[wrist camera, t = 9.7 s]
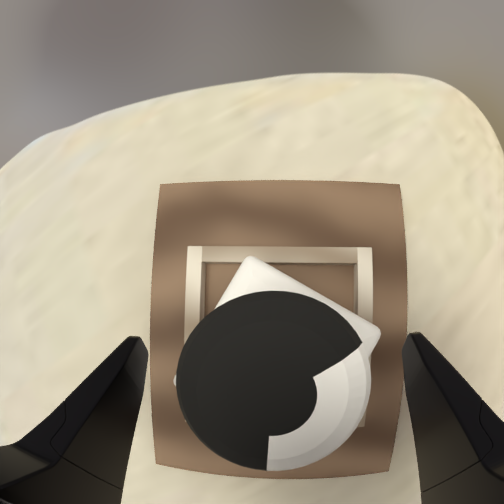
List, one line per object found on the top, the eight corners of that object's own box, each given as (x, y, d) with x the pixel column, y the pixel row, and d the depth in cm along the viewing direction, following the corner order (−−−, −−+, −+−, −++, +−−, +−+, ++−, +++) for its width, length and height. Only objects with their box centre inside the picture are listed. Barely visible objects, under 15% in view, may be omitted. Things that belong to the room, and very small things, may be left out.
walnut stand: (384, 464, 18) (393, 478, 16) (161, 457, 20) (150, 470, 17) (394, 190, 22) (405, 178, 19) (165, 189, 23) (154, 178, 21)
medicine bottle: (205, 359, 20) (116, 417, 8) (259, 269, 20) (227, 222, 9) (295, 410, 19) (306, 521, 7) (351, 322, 19) (437, 342, 7)
